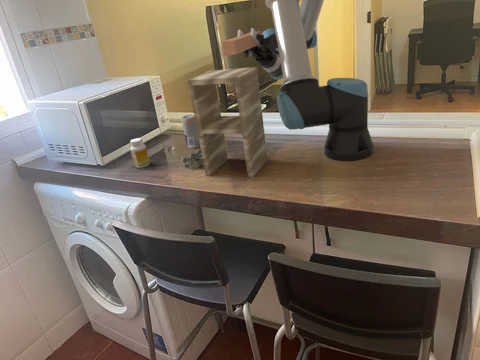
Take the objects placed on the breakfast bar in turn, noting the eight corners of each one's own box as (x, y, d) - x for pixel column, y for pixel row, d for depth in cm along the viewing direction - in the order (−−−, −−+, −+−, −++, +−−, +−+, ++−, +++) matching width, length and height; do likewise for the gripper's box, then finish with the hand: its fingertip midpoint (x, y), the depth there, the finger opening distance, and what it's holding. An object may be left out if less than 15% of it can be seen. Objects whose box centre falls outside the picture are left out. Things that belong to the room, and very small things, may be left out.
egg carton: (192, 171, 126) (190, 160, 125) (180, 166, 132) (178, 155, 130) (217, 160, 132) (215, 149, 131) (204, 156, 138) (202, 145, 136)
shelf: (267, 159, 126) (256, 67, 113) (252, 177, 115) (239, 77, 102) (223, 158, 132) (209, 70, 120) (205, 175, 121) (187, 80, 108)
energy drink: (193, 143, 152) (187, 114, 147) (203, 144, 149) (198, 114, 144) (184, 148, 148) (178, 118, 143) (194, 149, 145) (188, 119, 140)
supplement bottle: (153, 162, 138) (146, 137, 134) (143, 168, 134) (137, 142, 130) (141, 161, 141) (134, 137, 137) (132, 167, 136) (124, 142, 132)
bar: (262, 43, 134) (260, 31, 132) (236, 54, 114) (234, 40, 113) (251, 44, 136) (250, 32, 134) (224, 55, 116) (222, 41, 114)
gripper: (288, 66, 143) (269, 41, 121) (246, 69, 149) (220, 46, 128) (290, 47, 143) (270, 18, 122) (248, 51, 150) (222, 24, 128)
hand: (245, 33), depth 125 cm, fingers closed on bar, 4 cm apart
